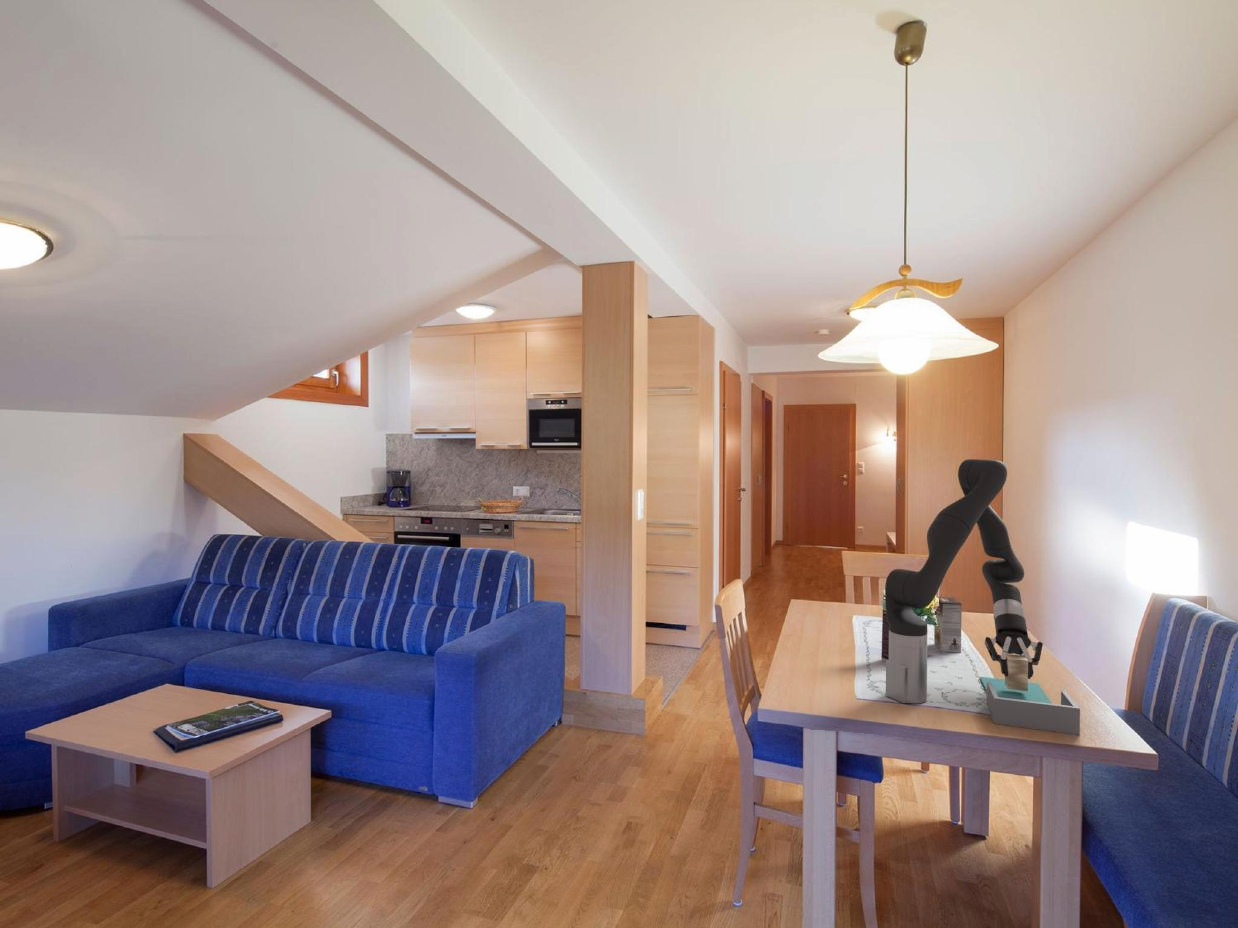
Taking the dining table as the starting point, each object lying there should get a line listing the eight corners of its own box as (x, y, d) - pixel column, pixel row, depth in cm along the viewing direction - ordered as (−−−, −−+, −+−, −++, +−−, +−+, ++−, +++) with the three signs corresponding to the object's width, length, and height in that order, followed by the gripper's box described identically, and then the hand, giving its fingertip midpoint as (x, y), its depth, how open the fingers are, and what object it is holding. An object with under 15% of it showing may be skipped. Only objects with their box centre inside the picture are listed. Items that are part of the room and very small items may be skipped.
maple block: (1007, 688, 173) (1008, 658, 173) (1004, 683, 177) (1005, 653, 177) (1027, 691, 171) (1028, 660, 171) (1024, 685, 175) (1024, 655, 175)
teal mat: (990, 700, 170) (990, 698, 170) (980, 678, 187) (980, 676, 187) (1053, 708, 165) (1053, 705, 165) (1037, 685, 182) (1037, 682, 182)
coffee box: (933, 643, 222) (933, 596, 222) (953, 644, 221) (954, 597, 220) (940, 651, 213) (941, 602, 213) (962, 652, 212) (962, 603, 211)
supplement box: (891, 664, 199) (891, 612, 199) (880, 659, 204) (881, 608, 204) (915, 662, 201) (915, 610, 201) (904, 657, 206) (904, 607, 206)
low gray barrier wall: (994, 723, 155) (994, 698, 155) (986, 705, 166) (986, 682, 166) (1079, 734, 149) (1080, 708, 149) (1065, 715, 160) (1065, 690, 160)
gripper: (982, 609, 183) (988, 665, 172) (1041, 614, 178) (1052, 672, 167) (979, 624, 188) (985, 679, 177) (1037, 629, 183) (1047, 686, 172)
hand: (1017, 675), depth 172 cm, fingers closed on maple block, 4 cm apart
